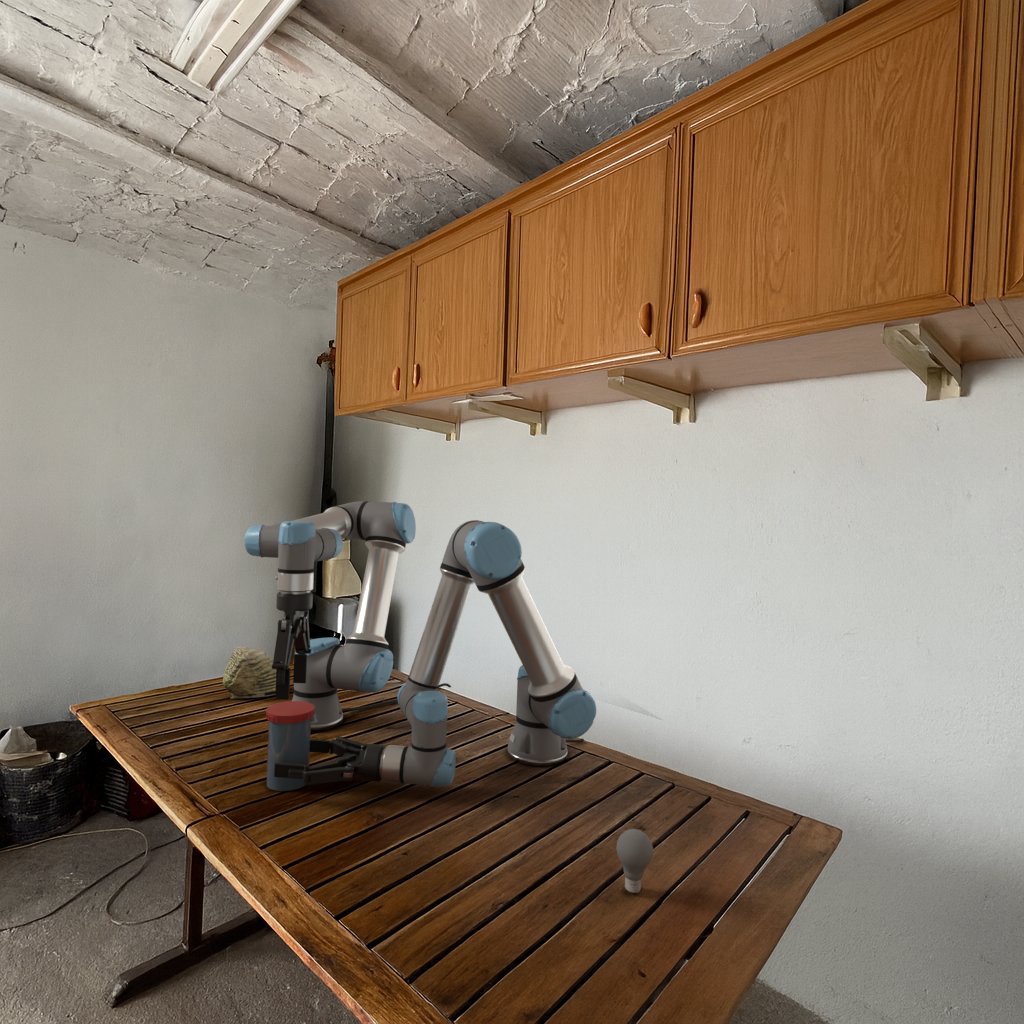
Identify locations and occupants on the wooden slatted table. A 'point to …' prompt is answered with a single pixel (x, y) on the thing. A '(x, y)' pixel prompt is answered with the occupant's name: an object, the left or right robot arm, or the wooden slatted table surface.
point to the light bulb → (634, 857)
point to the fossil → (249, 674)
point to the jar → (287, 751)
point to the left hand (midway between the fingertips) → (291, 690)
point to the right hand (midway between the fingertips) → (288, 756)
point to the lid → (290, 712)
